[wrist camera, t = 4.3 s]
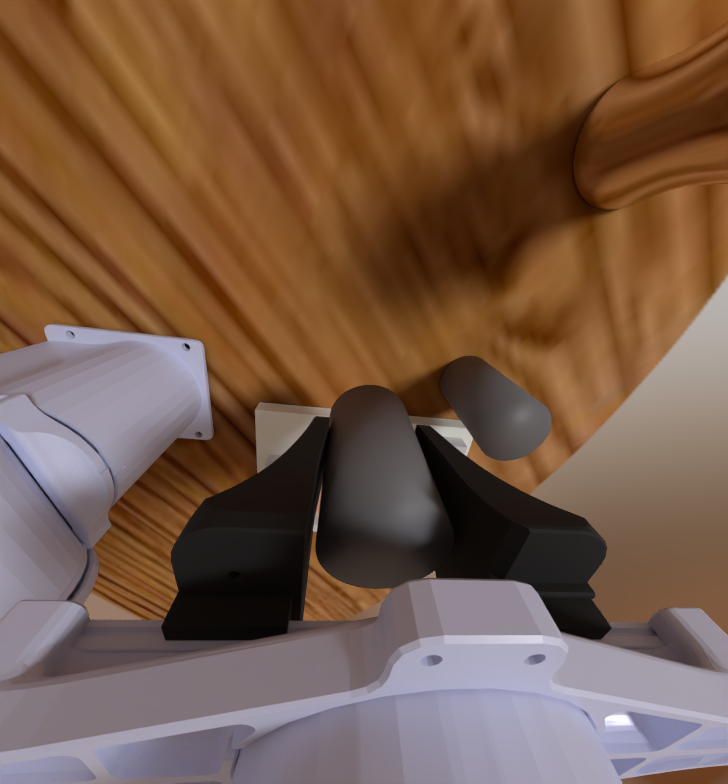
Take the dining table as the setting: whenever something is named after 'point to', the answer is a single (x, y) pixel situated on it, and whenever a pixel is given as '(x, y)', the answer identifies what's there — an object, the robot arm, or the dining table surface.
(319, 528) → the peg
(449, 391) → the peg
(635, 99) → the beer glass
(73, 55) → the dining table surface
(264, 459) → the board
